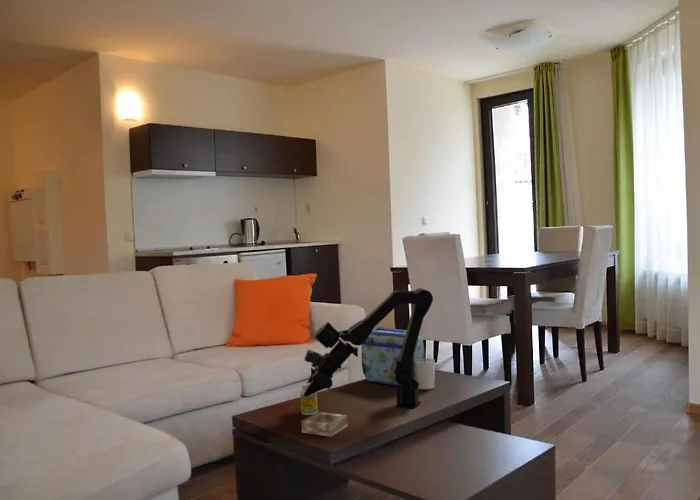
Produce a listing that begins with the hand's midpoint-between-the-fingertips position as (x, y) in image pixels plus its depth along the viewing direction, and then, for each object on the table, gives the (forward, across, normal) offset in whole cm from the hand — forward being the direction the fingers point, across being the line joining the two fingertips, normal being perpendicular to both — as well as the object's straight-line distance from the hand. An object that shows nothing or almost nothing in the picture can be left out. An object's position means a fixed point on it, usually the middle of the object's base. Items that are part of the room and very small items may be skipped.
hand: (304, 393), depth 198 cm
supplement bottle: (+4, 0, +6) cm, 7 cm away
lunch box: (-20, -30, +29) cm, 46 cm away
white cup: (-27, -20, +36) cm, 49 cm away
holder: (+1, +17, +8) cm, 19 cm away
